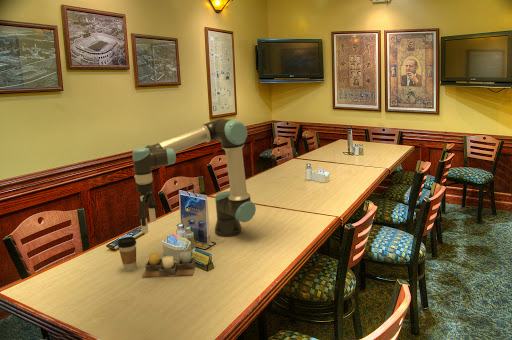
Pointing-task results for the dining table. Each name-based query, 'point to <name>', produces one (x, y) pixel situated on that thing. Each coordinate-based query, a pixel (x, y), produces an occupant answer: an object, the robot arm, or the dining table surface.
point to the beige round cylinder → (168, 262)
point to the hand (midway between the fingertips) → (149, 226)
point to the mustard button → (154, 258)
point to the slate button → (185, 257)
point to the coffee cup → (128, 253)
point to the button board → (175, 271)
